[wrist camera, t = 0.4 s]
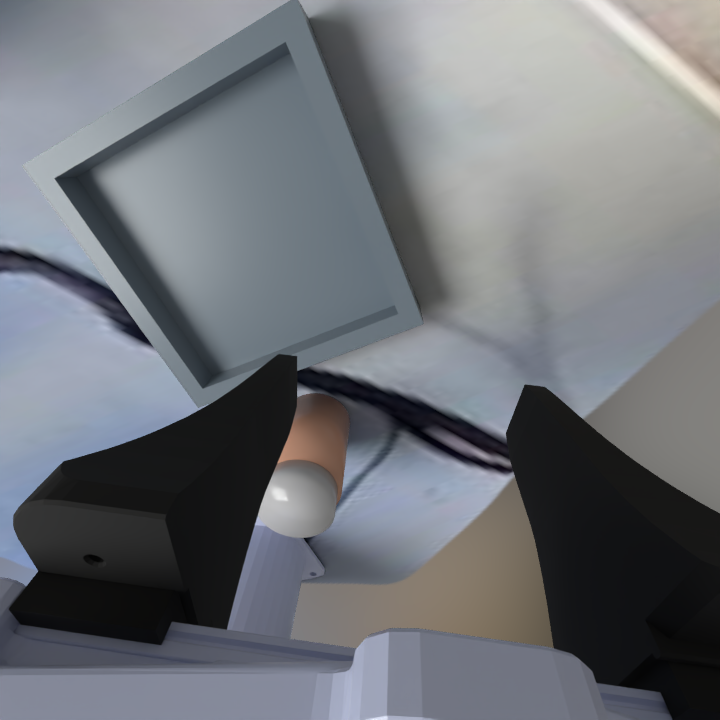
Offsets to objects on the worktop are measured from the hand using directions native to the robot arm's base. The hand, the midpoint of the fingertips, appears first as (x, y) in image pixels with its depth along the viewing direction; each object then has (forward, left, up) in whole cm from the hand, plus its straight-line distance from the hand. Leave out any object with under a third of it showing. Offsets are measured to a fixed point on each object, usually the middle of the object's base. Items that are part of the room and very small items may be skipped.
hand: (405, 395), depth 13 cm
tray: (-6, +6, -11) cm, 13 cm away
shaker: (-8, -6, -11) cm, 15 cm away
